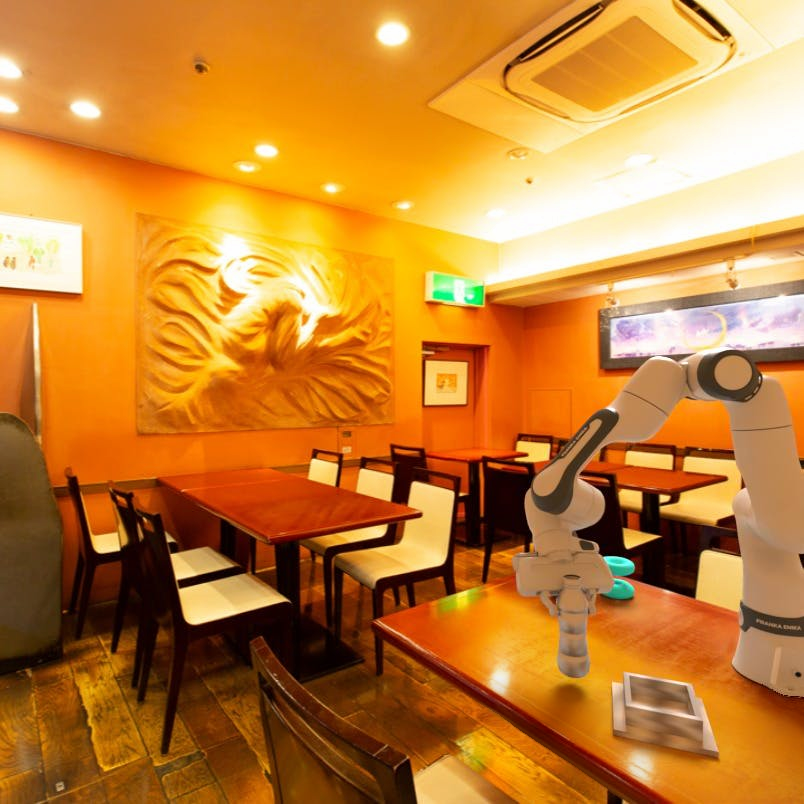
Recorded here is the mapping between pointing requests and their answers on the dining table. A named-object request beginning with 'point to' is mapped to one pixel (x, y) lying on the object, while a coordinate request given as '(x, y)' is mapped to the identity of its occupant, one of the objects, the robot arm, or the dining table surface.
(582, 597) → the plastic bottle
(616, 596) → the donuts
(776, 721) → the dining table surface
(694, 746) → the bottle holder
